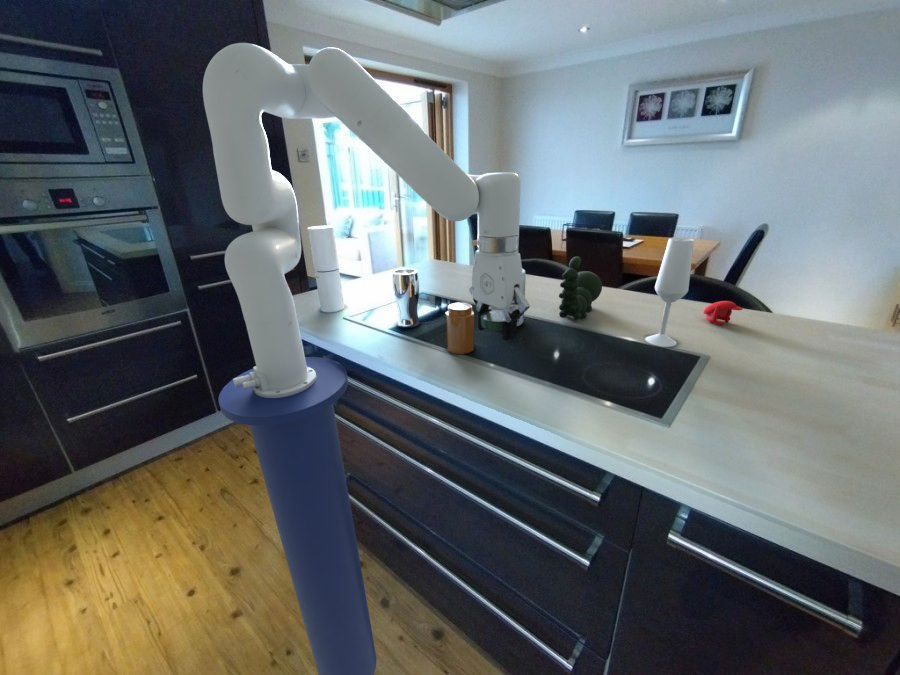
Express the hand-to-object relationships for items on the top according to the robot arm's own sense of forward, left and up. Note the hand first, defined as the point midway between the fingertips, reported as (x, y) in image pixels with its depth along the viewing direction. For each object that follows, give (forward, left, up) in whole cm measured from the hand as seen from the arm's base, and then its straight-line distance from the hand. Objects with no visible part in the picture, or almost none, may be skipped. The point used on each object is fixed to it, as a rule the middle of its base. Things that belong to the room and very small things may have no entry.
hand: (496, 332), depth 79 cm
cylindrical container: (-11, +63, -8) cm, 65 cm away
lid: (0, 0, +3) cm, 3 cm away
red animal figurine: (+63, -19, -9) cm, 66 cm away
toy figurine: (+42, +10, -9) cm, 44 cm away
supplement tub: (+21, +18, -9) cm, 29 cm away
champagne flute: (+40, -15, -9) cm, 43 cm away
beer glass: (0, +35, -9) cm, 36 cm away
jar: (+1, +13, -8) cm, 16 cm away
